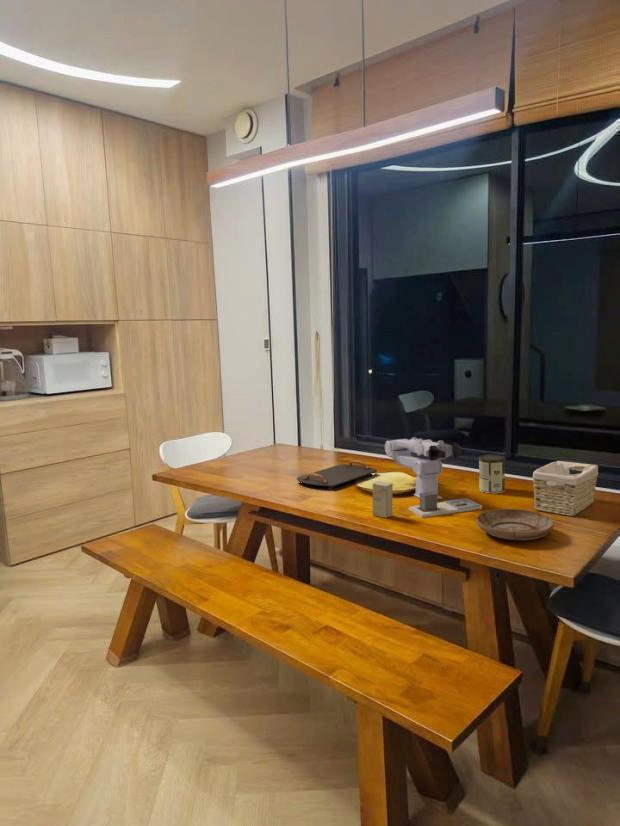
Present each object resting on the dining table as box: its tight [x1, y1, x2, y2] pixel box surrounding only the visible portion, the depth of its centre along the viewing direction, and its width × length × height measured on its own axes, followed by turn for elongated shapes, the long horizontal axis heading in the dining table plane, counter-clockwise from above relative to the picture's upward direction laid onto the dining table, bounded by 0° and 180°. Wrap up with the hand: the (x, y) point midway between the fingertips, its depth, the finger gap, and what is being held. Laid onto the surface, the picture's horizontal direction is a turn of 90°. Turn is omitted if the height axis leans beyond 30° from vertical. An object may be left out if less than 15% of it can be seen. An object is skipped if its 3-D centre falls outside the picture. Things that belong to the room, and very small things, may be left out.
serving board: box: [296, 459, 378, 490], centre depth 260 cm, size 39×23×6 cm, turn 138°
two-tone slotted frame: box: [408, 497, 483, 519], centre depth 209 cm, size 10×25×2 cm, turn 107°
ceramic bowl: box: [475, 508, 555, 542], centre depth 182 cm, size 23×24×5 cm
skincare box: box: [372, 480, 394, 519], centre depth 205 cm, size 6×4×12 cm
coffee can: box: [478, 454, 506, 495], centre depth 230 cm, size 10×10×14 cm
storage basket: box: [532, 460, 599, 517], centre depth 206 cm, size 24×16×15 cm
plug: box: [419, 492, 438, 512], centre depth 207 cm, size 4×5×7 cm
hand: (453, 453), depth 204 cm, fingers open, 7 cm apart
